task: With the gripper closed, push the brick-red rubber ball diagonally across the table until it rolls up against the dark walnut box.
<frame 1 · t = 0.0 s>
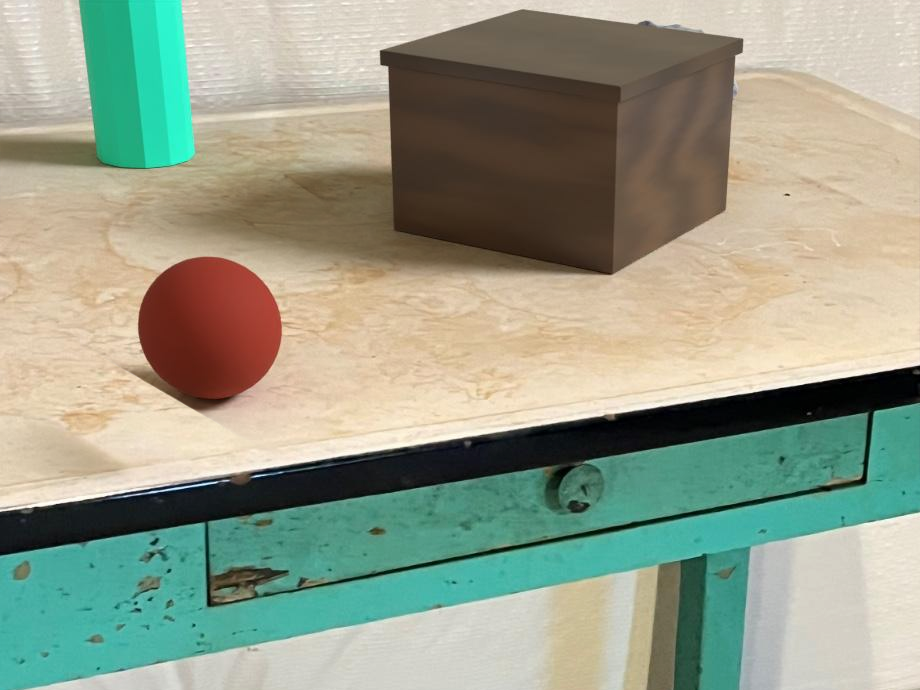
mineral specimen: (664, 103, 124), on the table
ball: (210, 328, 72), point 3 cm above the table
box: (564, 219, 98), on the table
candle: (146, 158, 107), on the table
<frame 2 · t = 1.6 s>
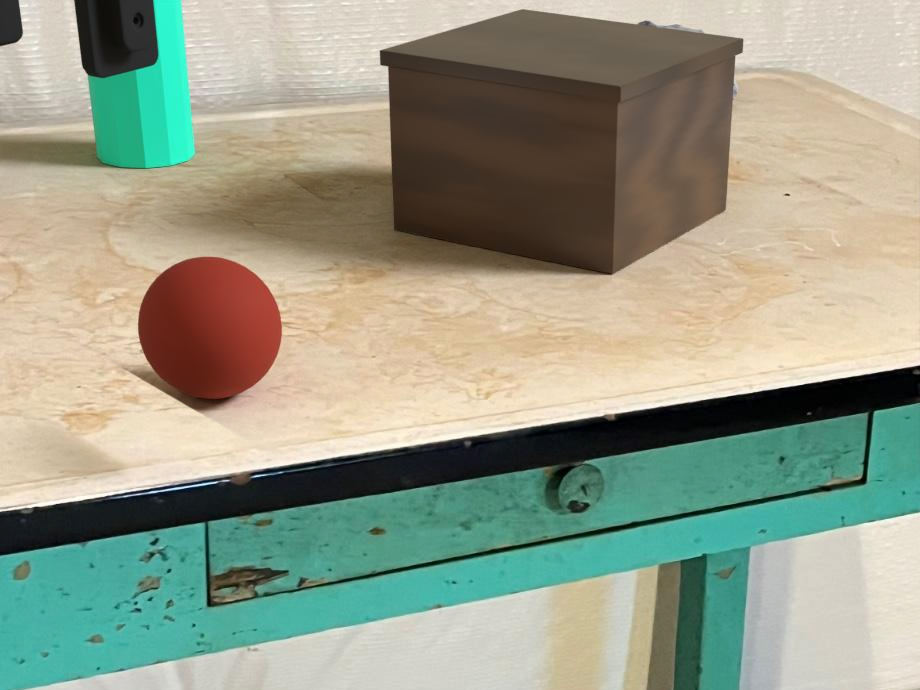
hand: (52, 53, 61), 16 cm above the table, tool pointing down, fingers open, 5 cm apart
nothing on the table moved.
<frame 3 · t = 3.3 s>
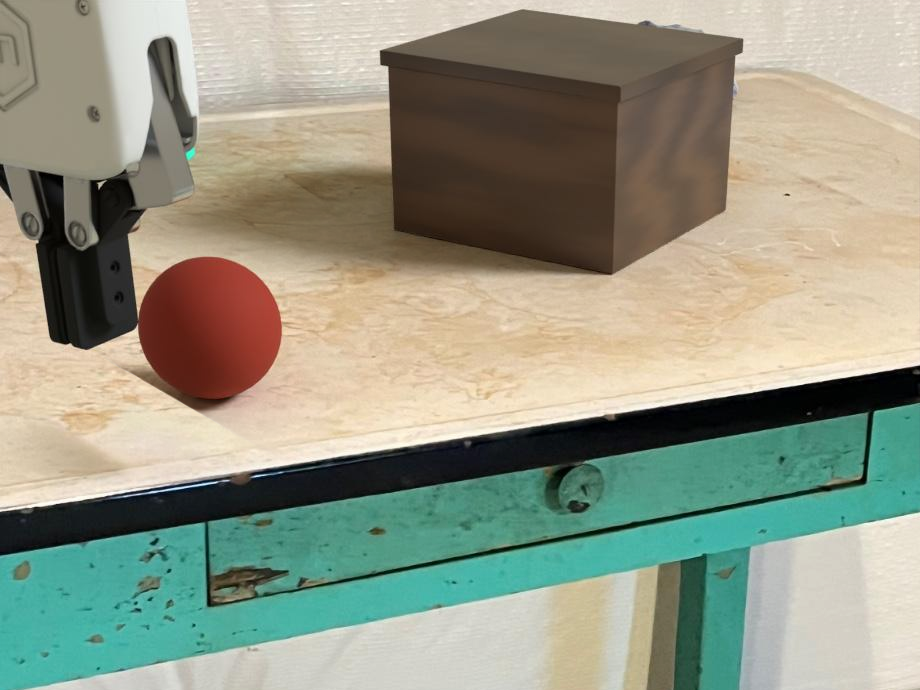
hand: (95, 335, 66), 5 cm above the table, tool pointing down, fingers closed
nothing on the table moved.
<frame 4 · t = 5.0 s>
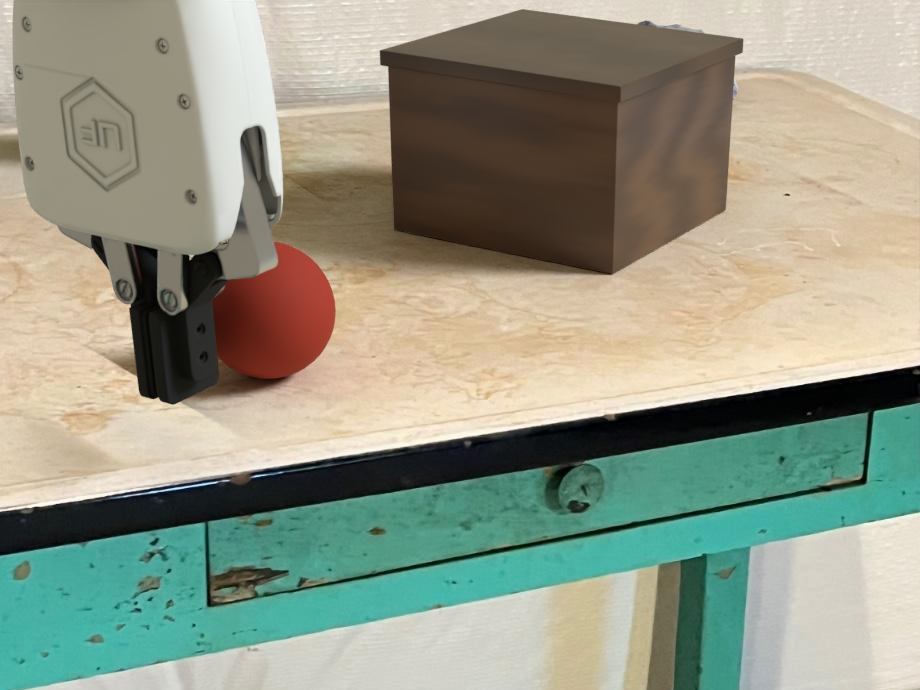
hand: (180, 389, 72), 1 cm above the table, tool pointing down, fingers closed
ball: (266, 309, 75), point 3 cm above the table, tilted 58°
everything else where it was.
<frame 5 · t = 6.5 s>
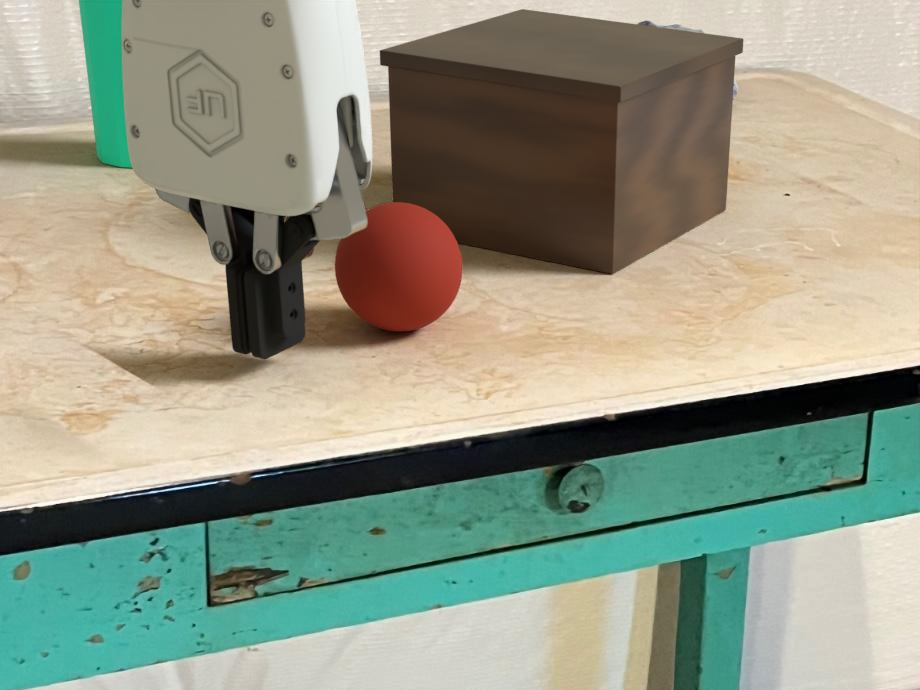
hand: (269, 346, 76), 1 cm above the table, tool pointing down, fingers closed
ball: (398, 267, 80), point 3 cm above the table, tilted 146°
everything else where it was.
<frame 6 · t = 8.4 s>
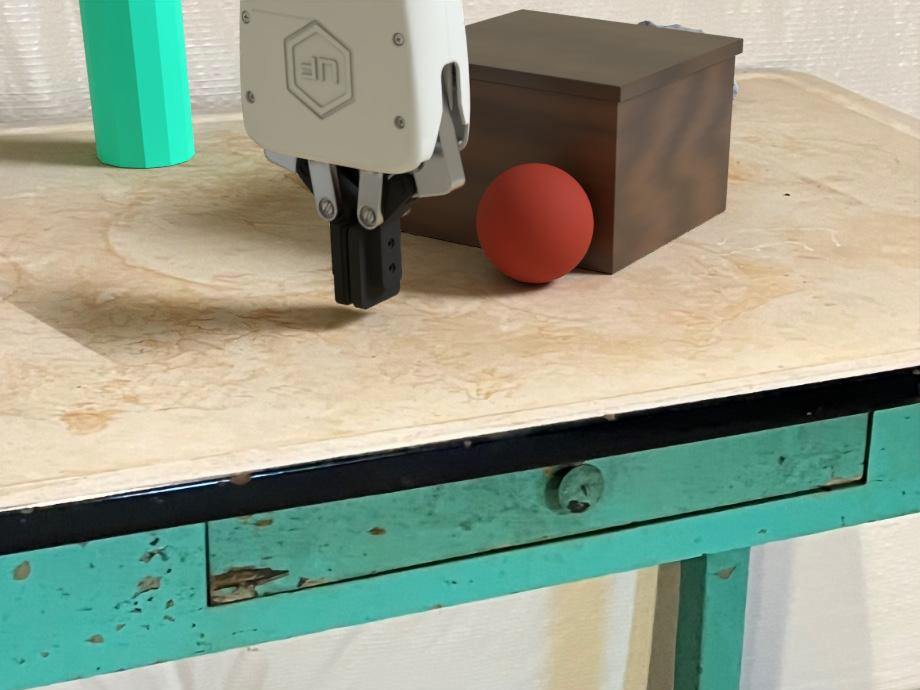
hand: (368, 298, 82), 1 cm above the table, tool pointing down, fingers closed
ball: (535, 223, 87), point 3 cm above the table, tilted 40°
everything else where it was.
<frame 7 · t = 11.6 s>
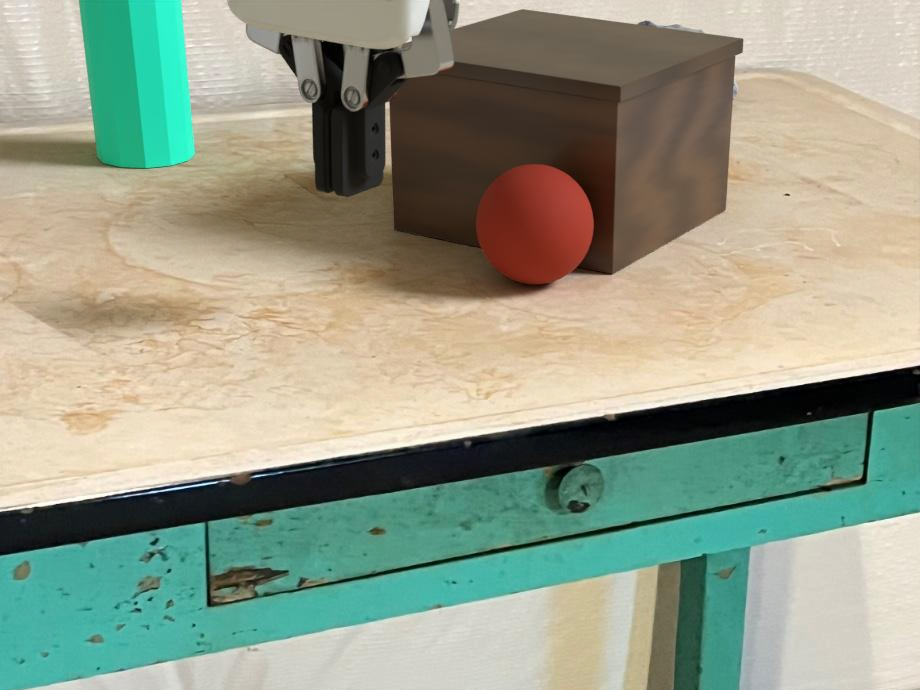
hand: (349, 187, 80), 6 cm above the table, tool pointing down, fingers closed
nothing on the table moved.
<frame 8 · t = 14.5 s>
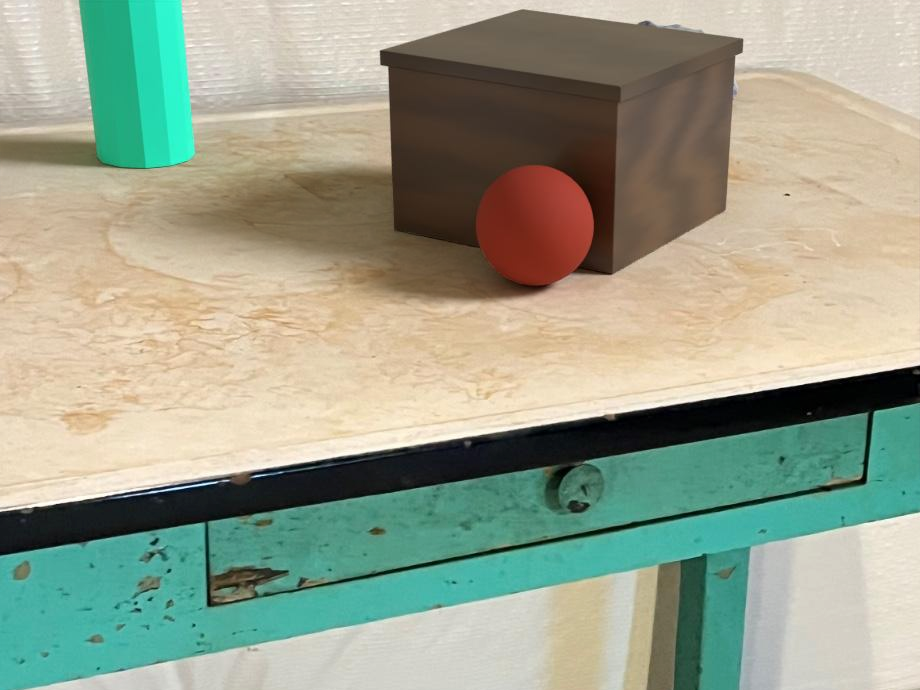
nothing on the table moved.
at the end: ball 11.2 cm from the box (horizontally); ball moved 20.7 cm from its start; the gripper is holding nothing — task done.
